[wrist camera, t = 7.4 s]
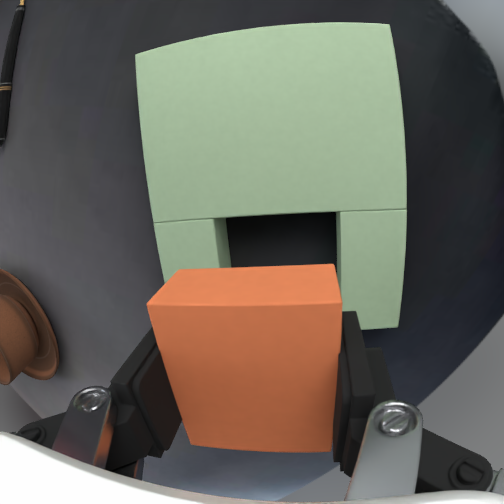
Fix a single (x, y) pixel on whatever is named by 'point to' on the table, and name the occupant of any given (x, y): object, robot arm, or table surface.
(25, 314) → the cup and saucer
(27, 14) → the table surface
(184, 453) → the table surface
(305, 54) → the base pad
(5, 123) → the fountain pen
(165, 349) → the orange block
